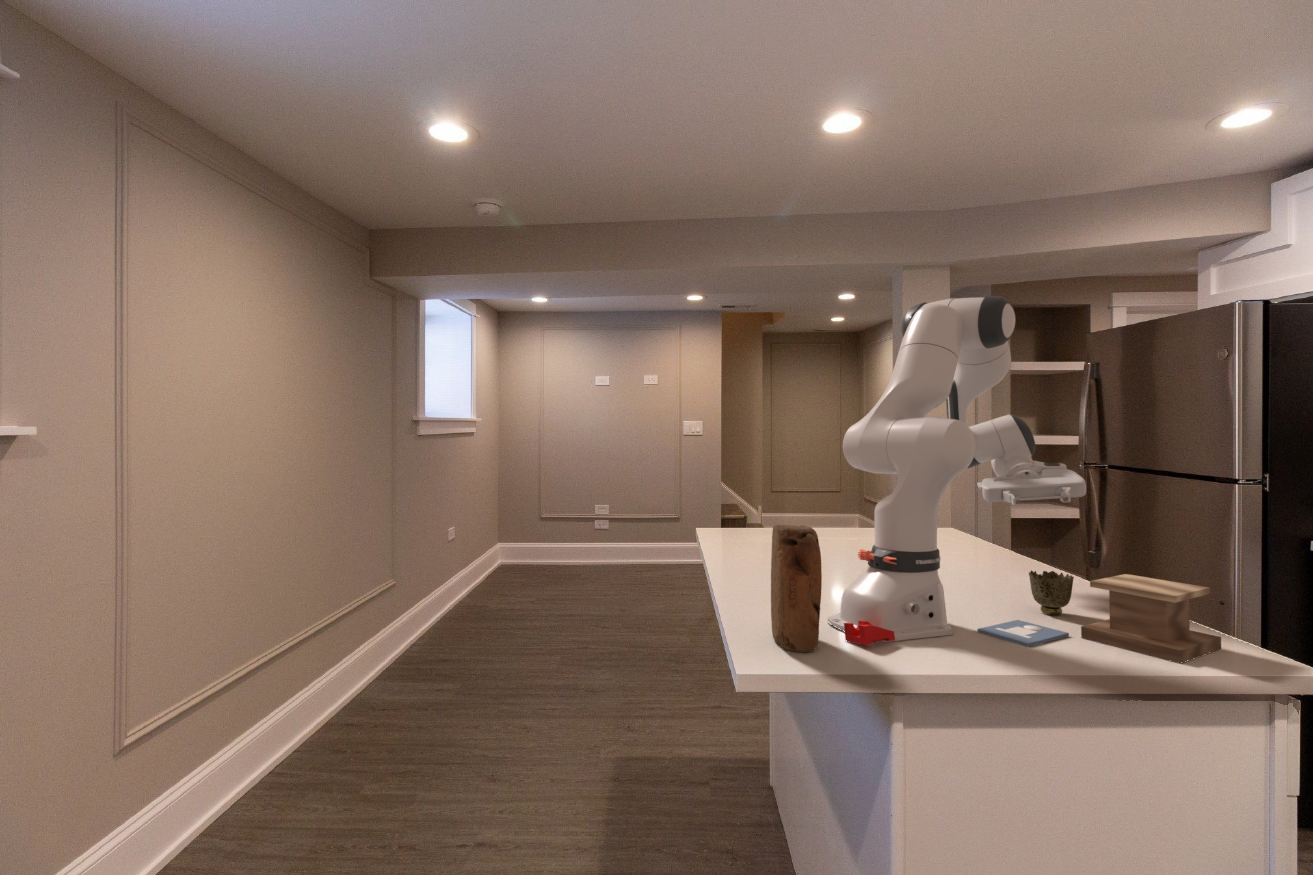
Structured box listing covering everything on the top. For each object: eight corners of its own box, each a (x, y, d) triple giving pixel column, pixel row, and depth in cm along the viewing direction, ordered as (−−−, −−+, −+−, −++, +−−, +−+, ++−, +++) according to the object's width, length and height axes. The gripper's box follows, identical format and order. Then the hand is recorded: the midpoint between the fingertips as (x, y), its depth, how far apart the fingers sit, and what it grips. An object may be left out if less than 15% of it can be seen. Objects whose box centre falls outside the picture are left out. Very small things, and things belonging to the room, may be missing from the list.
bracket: (866, 645, 98) (864, 626, 99) (845, 641, 103) (843, 622, 103) (895, 640, 101) (893, 621, 101) (874, 636, 105) (872, 618, 106)
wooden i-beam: (1180, 663, 92) (1179, 598, 92) (1081, 637, 104) (1080, 580, 104) (1221, 648, 98) (1220, 588, 98) (1122, 626, 111) (1122, 572, 111)
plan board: (1028, 647, 99) (1028, 642, 100) (977, 632, 107) (977, 628, 107) (1068, 636, 105) (1068, 632, 105) (1017, 622, 113) (1017, 619, 113)
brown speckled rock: (769, 633, 107) (768, 522, 107) (811, 634, 107) (810, 522, 107) (779, 654, 96) (778, 530, 96) (826, 655, 96) (825, 530, 96)
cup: (1060, 609, 122) (1060, 570, 122) (1082, 619, 115) (1082, 578, 115) (1022, 608, 123) (1021, 569, 123) (1041, 618, 116) (1041, 577, 116)
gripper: (974, 470, 145) (987, 490, 132) (1072, 462, 138) (1095, 483, 126) (975, 494, 146) (988, 516, 134) (1072, 488, 140) (1096, 511, 127)
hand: (1041, 500), depth 130 cm, fingers open, 8 cm apart
